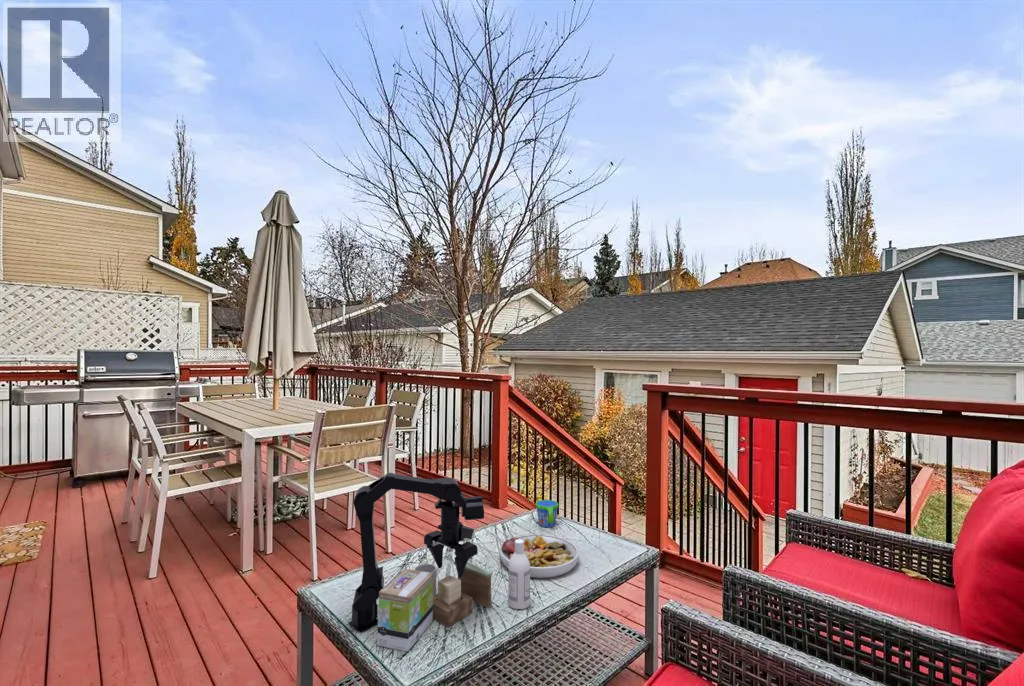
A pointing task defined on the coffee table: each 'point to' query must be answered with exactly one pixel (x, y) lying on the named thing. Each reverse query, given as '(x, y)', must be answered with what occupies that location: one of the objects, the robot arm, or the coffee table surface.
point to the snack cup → (547, 512)
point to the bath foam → (519, 578)
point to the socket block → (465, 596)
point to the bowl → (543, 554)
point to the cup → (430, 569)
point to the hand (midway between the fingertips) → (450, 572)
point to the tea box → (405, 609)
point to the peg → (449, 590)
